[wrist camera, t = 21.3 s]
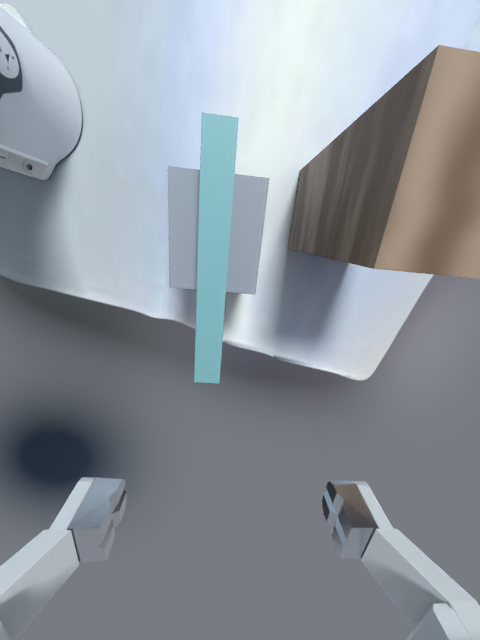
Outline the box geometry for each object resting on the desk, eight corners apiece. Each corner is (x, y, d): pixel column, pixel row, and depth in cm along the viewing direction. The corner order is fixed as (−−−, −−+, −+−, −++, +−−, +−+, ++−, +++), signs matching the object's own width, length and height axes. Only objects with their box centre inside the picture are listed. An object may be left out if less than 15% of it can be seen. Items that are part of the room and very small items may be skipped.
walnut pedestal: (287, 248, 41) (373, 268, 17) (299, 170, 37) (439, 44, 12) (351, 254, 42) (523, 282, 17) (371, 179, 38) (630, 78, 13)
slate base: (191, 268, 41) (169, 287, 26) (192, 193, 37) (167, 166, 22) (245, 273, 42) (255, 294, 27) (253, 200, 38) (269, 178, 23)
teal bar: (197, 368, 30) (194, 382, 27) (205, 128, 21) (201, 112, 19) (220, 369, 30) (219, 383, 28) (237, 132, 22) (238, 117, 19)
